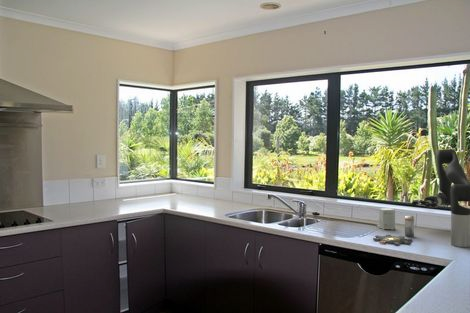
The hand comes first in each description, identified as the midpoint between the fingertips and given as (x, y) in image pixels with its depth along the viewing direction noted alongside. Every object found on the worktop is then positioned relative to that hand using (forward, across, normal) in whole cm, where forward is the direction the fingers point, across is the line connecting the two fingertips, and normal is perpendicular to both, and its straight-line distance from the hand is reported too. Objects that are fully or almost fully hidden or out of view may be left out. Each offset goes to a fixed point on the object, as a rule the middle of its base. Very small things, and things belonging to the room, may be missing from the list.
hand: (419, 204), depth 237 cm
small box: (+3, -20, +18) cm, 27 cm away
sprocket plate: (+29, 0, +18) cm, 34 cm away
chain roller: (+11, 0, +18) cm, 21 cm away
